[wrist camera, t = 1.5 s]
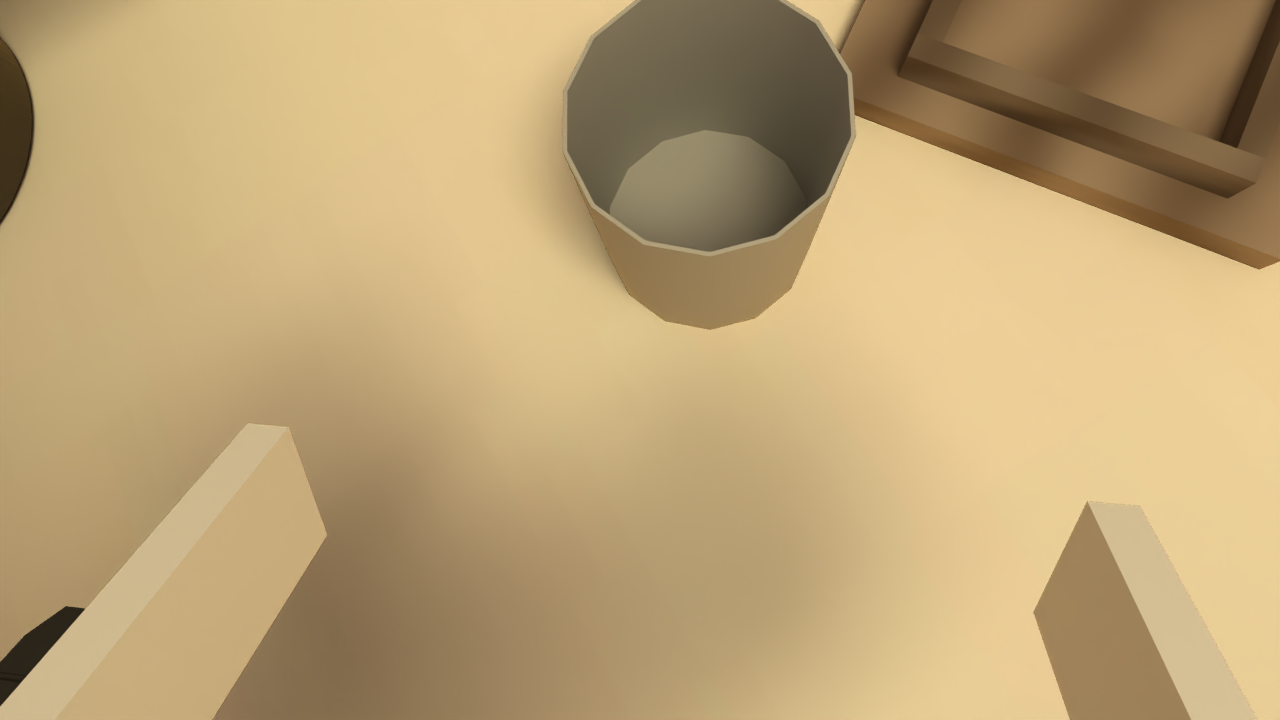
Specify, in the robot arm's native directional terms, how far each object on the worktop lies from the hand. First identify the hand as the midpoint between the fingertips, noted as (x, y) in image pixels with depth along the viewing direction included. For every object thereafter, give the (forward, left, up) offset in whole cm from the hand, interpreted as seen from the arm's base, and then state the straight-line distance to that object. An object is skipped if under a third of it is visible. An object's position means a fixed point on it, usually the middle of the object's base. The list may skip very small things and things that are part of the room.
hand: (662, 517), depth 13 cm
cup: (-4, +10, -17) cm, 20 cm away
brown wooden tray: (+7, +25, -17) cm, 31 cm away
